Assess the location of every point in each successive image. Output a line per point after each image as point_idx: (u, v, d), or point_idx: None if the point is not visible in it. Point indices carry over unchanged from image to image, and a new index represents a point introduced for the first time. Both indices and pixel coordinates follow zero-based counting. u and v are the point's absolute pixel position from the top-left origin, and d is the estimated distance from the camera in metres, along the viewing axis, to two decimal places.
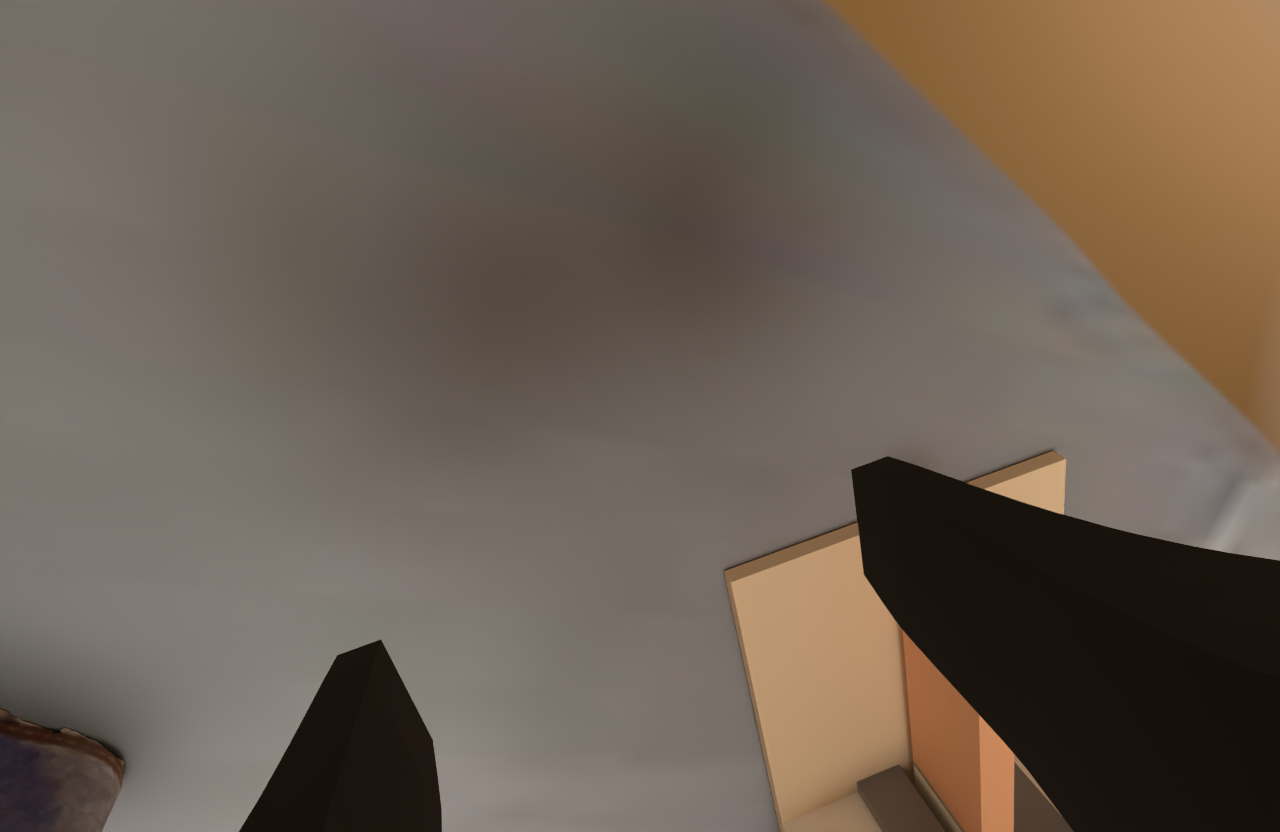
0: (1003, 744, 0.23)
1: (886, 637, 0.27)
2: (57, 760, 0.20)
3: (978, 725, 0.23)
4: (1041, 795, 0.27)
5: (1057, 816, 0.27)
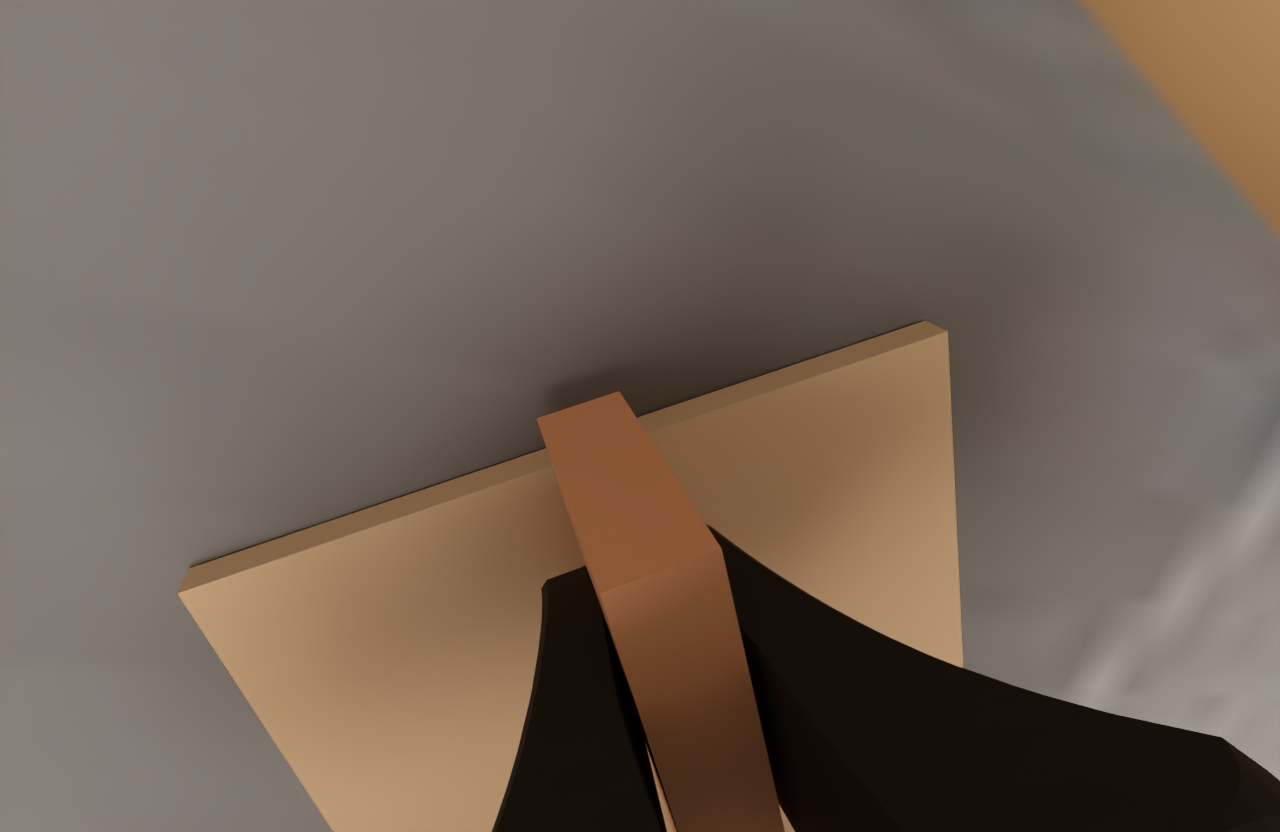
0: None
1: None
2: None
3: None
4: None
5: None
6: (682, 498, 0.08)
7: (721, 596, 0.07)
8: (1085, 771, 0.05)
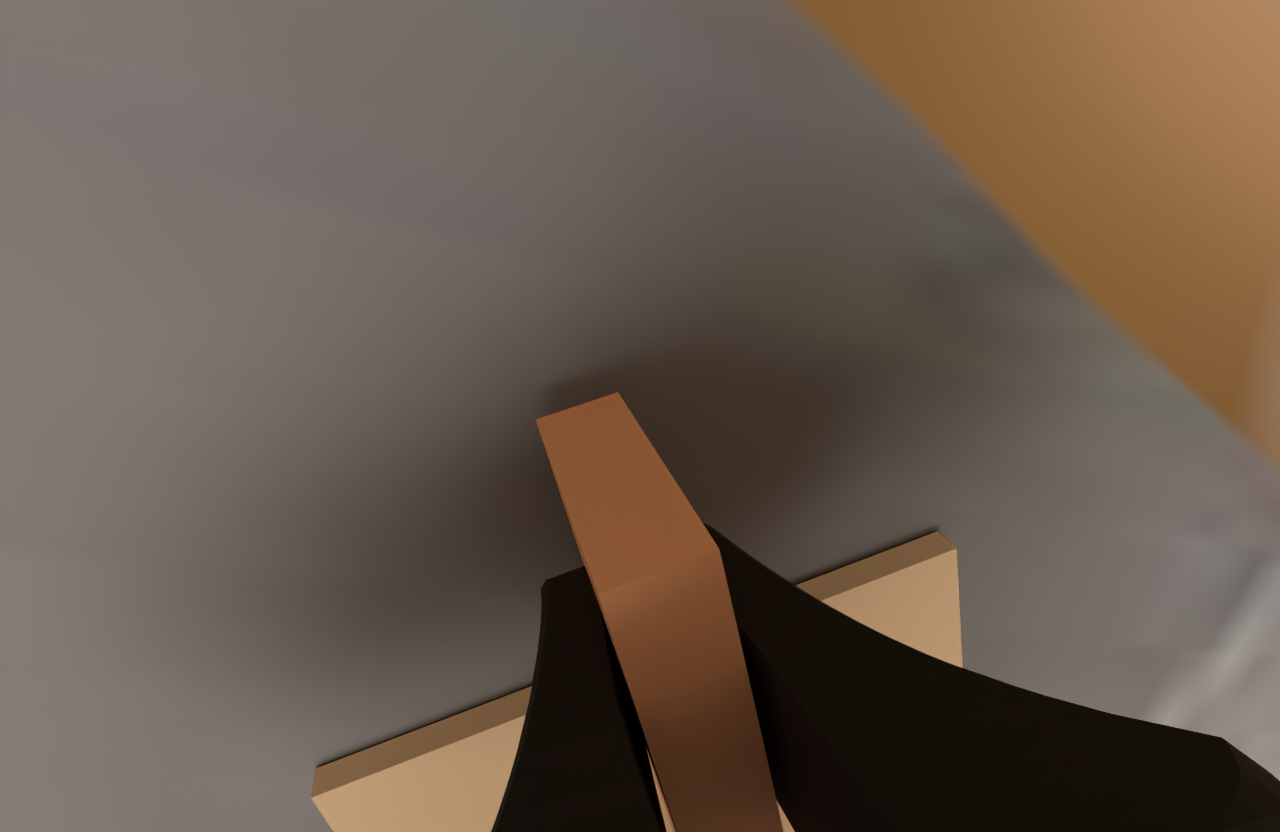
0: None
1: None
2: None
3: None
4: None
5: None
6: (680, 499, 0.08)
7: (719, 597, 0.07)
8: (1086, 772, 0.05)
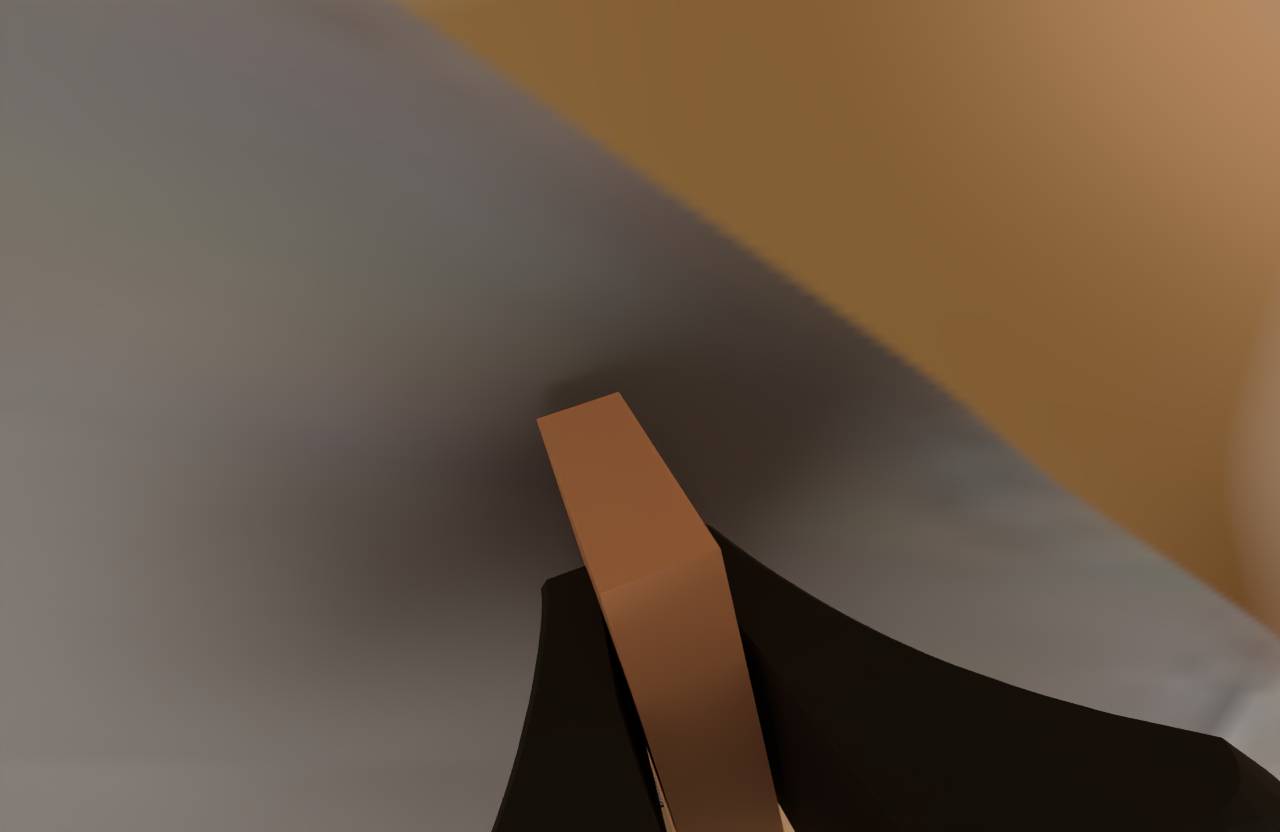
0: None
1: None
2: None
3: None
4: None
5: None
6: (681, 498, 0.08)
7: (720, 596, 0.07)
8: (1085, 771, 0.05)
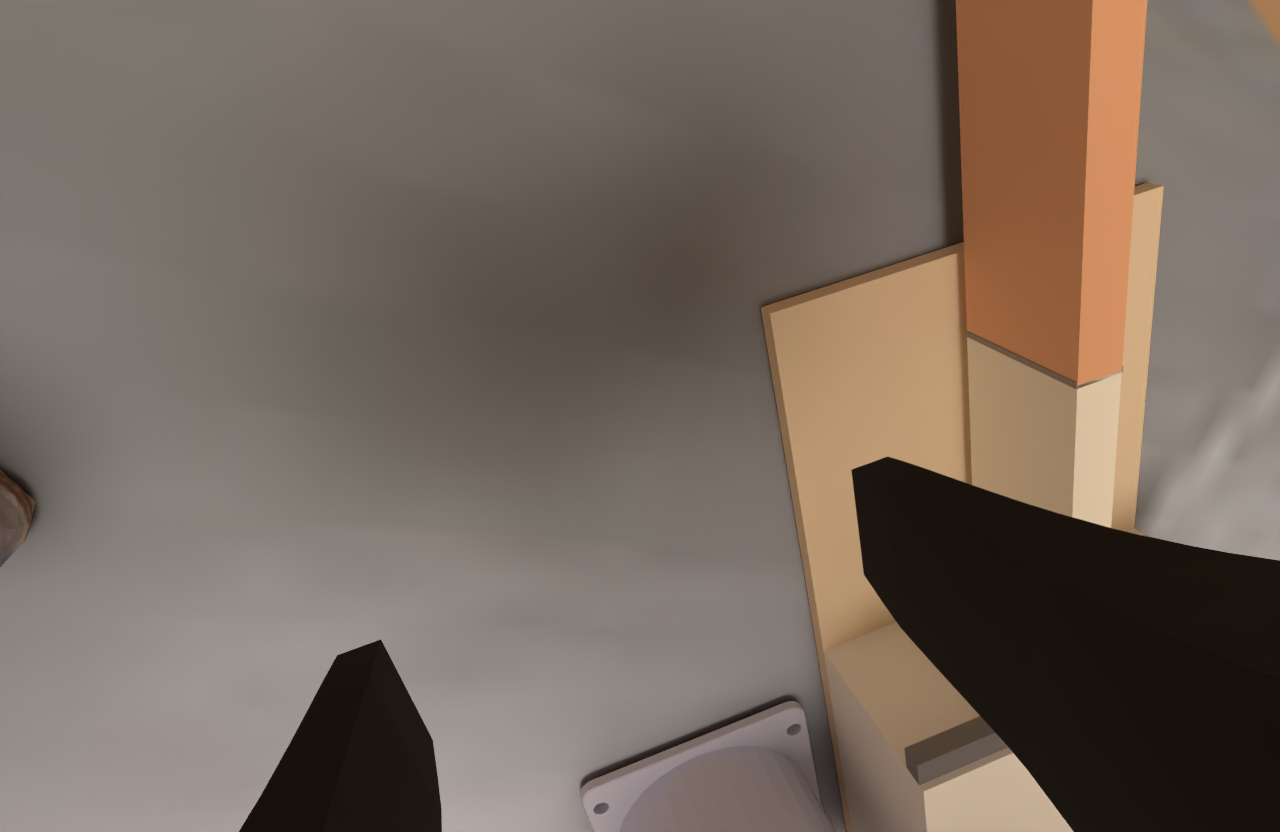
0: (1121, 147, 0.16)
1: (948, 411, 0.23)
2: None
3: (1086, 93, 0.15)
4: None
5: None
6: None
7: None
8: None
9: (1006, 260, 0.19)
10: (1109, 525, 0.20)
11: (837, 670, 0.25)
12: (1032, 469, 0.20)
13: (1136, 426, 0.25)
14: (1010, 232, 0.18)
